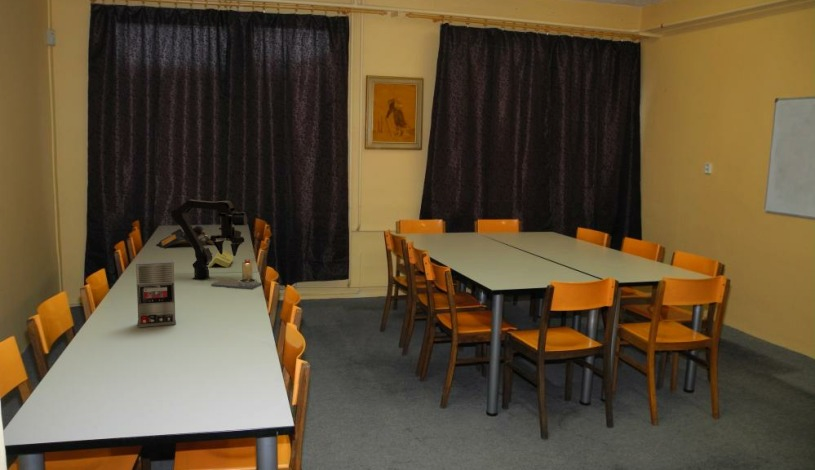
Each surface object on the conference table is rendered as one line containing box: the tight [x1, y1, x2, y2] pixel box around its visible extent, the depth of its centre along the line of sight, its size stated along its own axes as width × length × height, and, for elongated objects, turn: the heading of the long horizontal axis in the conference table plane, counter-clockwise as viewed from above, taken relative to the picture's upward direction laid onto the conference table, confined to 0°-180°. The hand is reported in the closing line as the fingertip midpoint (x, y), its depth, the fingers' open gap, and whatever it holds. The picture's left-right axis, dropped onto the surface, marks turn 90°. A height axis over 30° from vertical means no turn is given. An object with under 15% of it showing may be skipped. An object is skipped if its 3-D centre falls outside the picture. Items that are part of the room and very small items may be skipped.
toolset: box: [155, 225, 215, 249], centre depth 426 cm, size 40×20×27 cm
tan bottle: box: [241, 258, 254, 282], centre depth 314 cm, size 5×5×12 cm
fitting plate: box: [210, 278, 263, 291], centre depth 316 cm, size 22×11×3 cm, turn 78°
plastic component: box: [208, 249, 234, 268], centre depth 365 cm, size 20×7×10 cm
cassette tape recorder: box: [135, 259, 177, 328], centre depth 248 cm, size 14×6×25 cm, turn 114°
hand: (227, 255), depth 326 cm, fingers open, 9 cm apart
